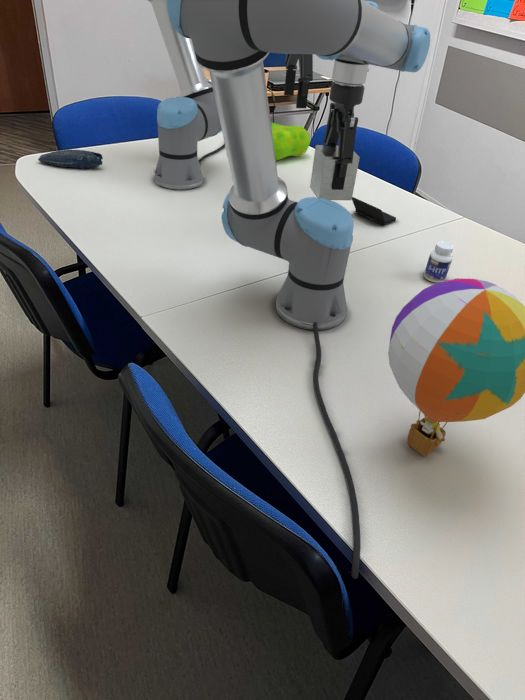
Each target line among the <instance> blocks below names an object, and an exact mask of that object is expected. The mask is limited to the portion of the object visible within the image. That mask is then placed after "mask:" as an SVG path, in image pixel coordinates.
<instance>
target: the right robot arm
mask: <svg viewBox="0 0 525 700" xmlns="http://www.w3.org/2000/svg"><path fill="white" fill-rule="evenodd" d="M167 11H168V16H169V19H170V22H171V24H172V26H173V28H174V29H175V31H176V32H178V33H179V34H180V35H182V36H183V37H185V38H191V39H192V43H193V47H194V51H195V56H196V60H197V62H198V64H199V65H200V66H201V67H202V68H203V70H205V71H208V73H209V77H210V81H211V84H212V87H213V91H214V96H215V101H216V105H217V110H218V115H219V119H220V124H221V128H222V131H221V134H222V138H223V143H224V144H225V147H224V148H225V151H226V156H227V160H228V165H229V169H230V174H231V179H232V183H233V185H232V186H231V187H230V189H229V191H228V193H227V194H226V197H225V199H224V200H223V203H222V209H223V211H222V212H221V224H222V227H223V230H224V233H225V234H226V235H227V237H228V238H230V239H231V240H232V241H234V242H236V243H238V244H239V245H241V246H244V247H246V248H250V249H253V250H255V251H259V252H261V253H265V254H266V255H267V254H268V255H270V256H273V257H275V258H278V259H281V260H284V261H286V262H288V263H289V264H288V270H287V271H288V272H287V275H286V278H285V279H284V282H283V283H282V285H281V287H280V290H279V291H278V294H277V296H276V300H275V311H276V313H277V315H278V316H279V317H280V318H281V319H282V320H283V321H284V322H286V323H287V324H289V325H291V326H293V327H296V328H300V329H304V330H310V331H313V336H314V343H315V351H316V352H315V353H316V357H315V363H314V367H313V374H312V380H313V381H312V382H313V388H314V393H315V396H316V400H317V403H318V406H319V408H320V411H321V415H322V417H323V421H324V422H325V426H326V427H327V429H328V432H329V435H330V437H331V439H332V442H333V445H334V447H335V450H336V452H337V456H338V459H339V460H340V463H341V466H342V469H343V470H342V471H343V472H344V475H345V480H346V484H347V489H348V494H349V500H350V506H351V516H352V535H353V536H352V537H353V540H352V541H353V543H352V561H351V577H352V579H355V580H357V579H358V578H359V573H360V563H361V562H360V561H361V527H360V514H359V513H360V512H359V505H358V498H357V493H356V489H355V484H354V480H353V477H352V473H351V470H350V467H349V464H348V460H347V458H346V455H345V454H344V449H343V447H342V445H341V443H340V440H339V437H338V435H337V433H336V431H335V428H334V426H333V424H332V421H331V419H330V417H329V413H328V411H327V408H326V405H325V402H324V399H323V396H322V393H321V389H320V383H319V372H320V367H321V361H322V347H321V341H320V334H319V331H324V330H325V331H326V330H329V329H333V328H336V327H337V326H339V325H340V324H342V323H343V322H344V320H345V318H346V315H347V310H348V305H347V297H346V292H345V286H344V280H345V275H346V271H347V267H348V262H349V257H350V253H351V252H350V251H351V247H352V244H353V240H354V239H353V238H354V235H353V234H354V228H355V221H354V218H353V215H352V214H351V212H350V211H349V210H348V209H347V208H346V207H345V206H343V205H342V204H339V203H338V202H336V201H335V200H328V199H324V198H320V199H318V198H317V197H316V196H308V197H304V198H301V199H300V200H298V201H295V200H291V199H290V198H289V194H288V186H287V183H286V182H285V181H284V179H283V178H281V177H280V176H278V169H277V167H278V166H277V160H276V159H275V151H274V143H273V136H272V128H271V123H272V120H271V113H270V105H269V98H268V89H267V81H266V73H265V67H264V61H265V60H266V58H267V57H268V56H269V55H270V53H271V54H281V55H286V54H313V55H315V56H316V57H318V59H321V60H325V61H333V62H334V63H333V68H332V74H331V79H332V80H333V81H332V82H331V84H330V91H329V97H328V99H329V100H330V101H331V102H330V104H329V112H328V117H327V120H326V121H327V122H326V126H325V131H324V136H323V141H322V143H323V144H324V145H331V146H338V160H337V161H335V163H336V166H335V172H334V178H333V184H332V190H343V188H344V182H345V177H346V171H347V166H348V164H349V163H350V164H351V163H352V161H353V153H354V152H355V144H356V143H355V142H356V135H357V134H356V133H357V128H358V123H359V117H357V116H355V113H354V110H355V106H359V105H361V104H362V103H363V99H364V93H365V89H366V87H365V86H364V84H365V83H366V82H367V76H368V73H369V72H370V69H371V68H370V67H369V65H370V66H375V67H380V68H385V69H390V70H395V71H400V72H402V73H403V72H407V73H418V72H419V71H421V69H422V68H423V66H424V65H425V63H426V60H427V57H428V53H429V51H430V46H431V32H430V30H429V28H427V27H424V26H419V25H417V24H407V23H404V22H403V21H401V20H397V18H396V19H395V17H392V16H391V15H389V14H387V13H385V12H384V11H382V10H380V9H379V5H378V3H376V2H374V1H371V0H167Z"/></svg>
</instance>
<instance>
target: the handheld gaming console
mask: <svg viewBox="0 0 525 700" xmlns="http://www.w3.org/2000/svg"><path fill="white" fill-rule="evenodd" d="M351 201H352V204H353V206H354V209H355V211H354V212H355V213H356V214H359V215H360V216H362V217H364V218H367V219H370V220H372V221H373V222H375V223H377V224H380V225H382V226H386V225H388V224H391V223H394V222H396V220H397V217H396V216H394V215H392V214H389V213H387V212H385V211H383V210H382V209H381V208H379V207H376V206H374V205H372V204H370V203H367V202H365V201H363V200H360V199H358V198H356V197H354V196H352V200H351Z"/></svg>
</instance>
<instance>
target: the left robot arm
mask: <svg viewBox="0 0 525 700" xmlns="http://www.w3.org/2000/svg"><path fill="white" fill-rule="evenodd" d="M147 1H148V2H149V3H150V4H151V6H152V10H153V12H154V15H155V18H156V21H157V25H158V26H159V30H160V33H161V36H162V39H163V42H164V45H165V48H166V50H167V53H168V57H169V59H170V63H171V66H172V69H173V71H174V74H175V77H176V80H177V83H178V86H179V89H180V93H179V95H178V96H176V97H169V98H165V99H163V100H162V101H160V102H159V104H158V106H157V109H156V110H157V111H156V112H157V114H156V122H157V124H156V125H157V136H158V137H157V138H158V159H157V163H156V166H153V175H154V177H153V178H154V182H155V184H156V185H158V186H160V187H162V188H165V189H169V190H175V191H176V190H179V191H181V190H182V191H184V190H192V189H196V188H198V187H200V186H202V185H203V183H204V173H203V169H202V167H201V164H200V163H201V162H202V161H203V160H204V159H205V158H208V157H209V156H211V155H214V154H216V153H218V152H219V151H221V150H223V148H226V147H225V143H223V145H221V146H220V147H218V148H216V149H215V150H213V151H210V152H208V153H206V154H204V155H203V156H202V157H200V158H199V157H198V143H199V142H200V141H203V140H206V139H208V138H211V137H215V136H217V135H218V134H220V133H222V128H221V124H220V119H219V115H218V110H217V105H216V101H215V96H214V91H213V87H212V83H210V82H209V81H208V79H207V77H206V73H205V71H204V70H205V69H204V68H202V67H201V66H200V65H199V64H198V62H197V60H196V56H195V51H194V47H193V43H192V39H191V38H185V37H183V36H182V35H180V34H179V33H178V32H176V31H175V29H174V28H173V26H172V24H171V22H170V19H169V16H168V11H167V0H147ZM313 55H314V54H285V59H284V66H285V69H286V70H285V80H284V91H283V95H284V96H294V95H295V85H296V77H297V76H296V75H297V70H299V78H297V82H298V83H297V84H298V86H297V93H296V104H295V108H296V109H307V104H308V96H309V88H310V83H311V82H313V80H314V78H313V77H314V64H313V63H314V60H313V59H314V56H313Z"/></svg>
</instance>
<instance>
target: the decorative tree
mask: <svg viewBox="0 0 525 700" xmlns="http://www.w3.org/2000/svg"><path fill="white" fill-rule="evenodd" d="M271 128H272V136H273V143H274V151H275V159H276V161H281V160H283V159H285V158H287V157H300V156H302V155H305V154H306V153H307V151H308V148H309V147H310V145H311V136H310V133H309V132H308V131H307V130H306V129H305V128H304V127H303V126H302V125H283V124H278V123H275V122H271Z"/></svg>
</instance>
